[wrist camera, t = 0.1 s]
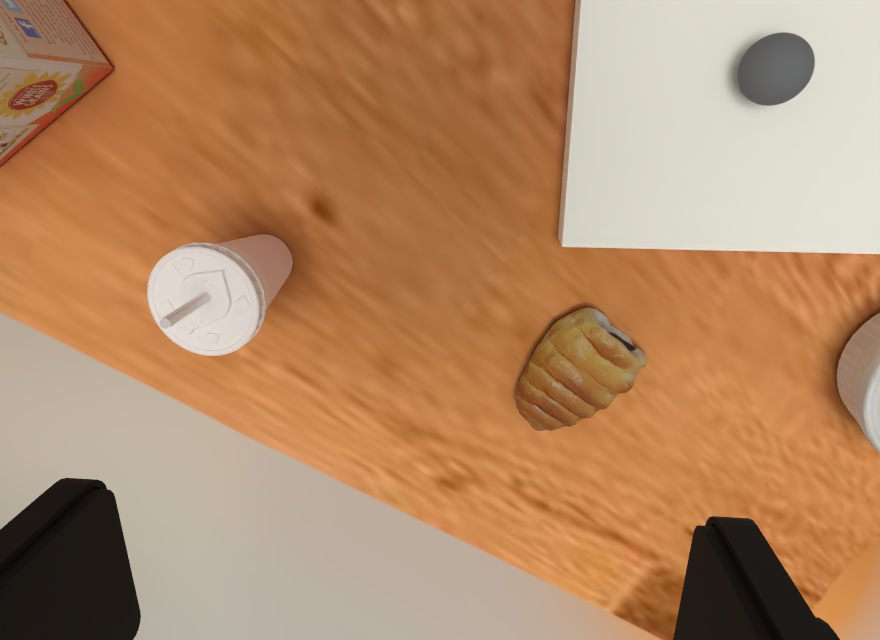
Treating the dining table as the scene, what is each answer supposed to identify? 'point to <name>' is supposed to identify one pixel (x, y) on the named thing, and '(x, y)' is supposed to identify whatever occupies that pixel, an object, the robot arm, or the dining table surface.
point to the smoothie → (217, 291)
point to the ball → (776, 69)
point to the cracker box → (41, 67)
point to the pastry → (577, 371)
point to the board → (720, 129)
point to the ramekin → (862, 378)
